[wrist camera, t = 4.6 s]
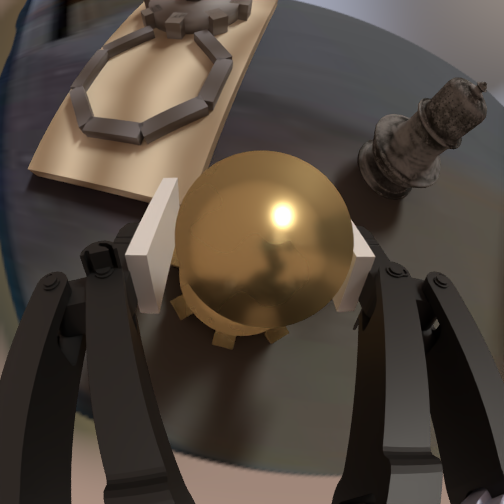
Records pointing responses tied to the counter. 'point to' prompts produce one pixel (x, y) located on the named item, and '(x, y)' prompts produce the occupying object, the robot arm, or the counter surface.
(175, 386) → the counter surface
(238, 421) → the counter surface
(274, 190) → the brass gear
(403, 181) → the stone chess piece
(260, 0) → the gear board
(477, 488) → the robot arm
